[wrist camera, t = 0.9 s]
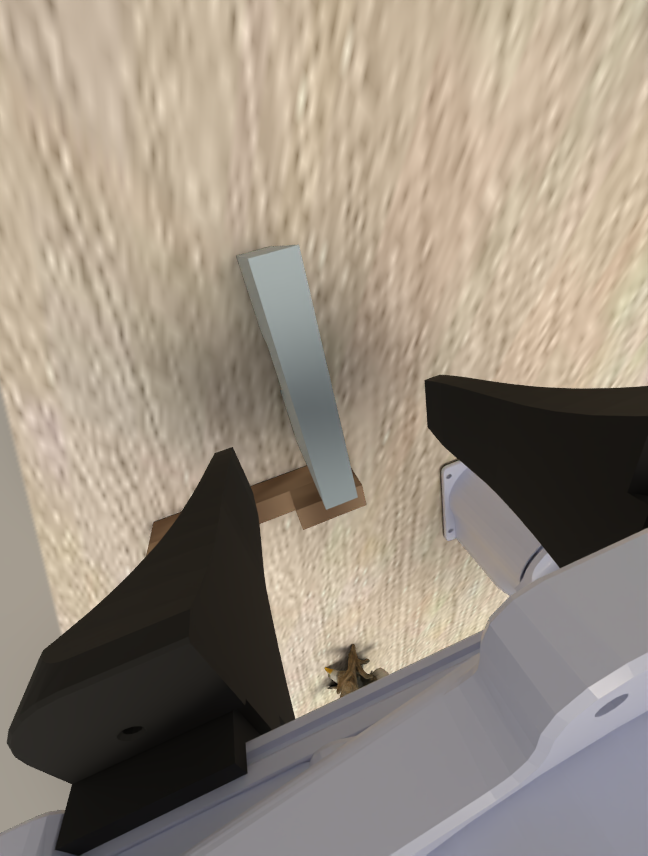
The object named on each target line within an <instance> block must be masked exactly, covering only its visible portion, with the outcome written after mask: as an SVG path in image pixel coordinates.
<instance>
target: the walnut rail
mask: <svg viewBox="0 0 648 856" xmlns="http://www.w3.org/2000/svg"><path fill="white" fill-rule="evenodd" d="M351 470H352V468H351ZM352 474H353V479H354V483H355V487H356V491H357V496H358V498H355V499H352V500H350V501H347V502H345V503H342V504H340V505H337V506H335V507H332V508H329V509H327V510H326V508H325V506H324V504H323V501H322V499H321V497H320V494H319V492H318V490H317V487H316V485H315V483H314V480H313V478H312V476H311V473H310V471H309V469H308V466H305V467H302V468H299V469H297V470H294V471H291V472H289V473H286V474H283V475H280V476H278V477H275V478H272V479H270V480H267V481H264V482H262V483H259V484H256V485H253V486H251V489H252V491H253V494H254V499H255V503H256V507H257V512H258V516H259V524H261V523H263V522H266V521H268V520H271V519H274V518H276V517H279V516H281V515H284V514H287V513H289V512H292V511H294V510H296V512H297V515H298V517H299V520H300V523H301V525H302V528H303V530H304V529H307V528H309V527H312V526H314V525H317V524H319V523H322V522H324V521H327V520H329V519H332V518H334V517H337V516H339V515H342V514H344V513H347V512H349V511H352V510H355V509H357V508H360V507H362V506H365V505H366V501H365V496H364V492H363V487H362V484H361V483H360V481H359V479H358V478H357V476H356V475H355V473H354V472H353V470H352ZM179 515H180V513H178V514H175V515H172V516H170V517H167V518H164V519H162V520H159V521H156V522H154V523H153V528H152V532H151V537H150V541H149V546H148V550H147V555H148V554H149V553H150V551H151V550H152V549H153V548H154V547H155V546H156V545H157V544H158V542H159V541H160V540H161V539H162V537H163V536H164V535H165V534H166V532H167V531H168V530H169V529H170V527H171V526H172V525H173V523H174V522H175V520H176V519H177V518H178V516H179ZM147 555H146V556H147Z"/></svg>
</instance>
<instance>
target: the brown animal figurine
mask: <svg viewBox="0 0 648 856" xmlns="http://www.w3.org/2000/svg"><path fill="white" fill-rule="evenodd" d="M348 656H349V657H348V669H347V670H346V671H337V670H334V669H329V668H327V667H325V670H326V671H327V673H328V676H329V678H331V679H332V680H333V681H335V682H336V683H338V685H337V686H333V687H329V688H328V689H337V694H339V693H340V692H341V695H340V698H341V697H343V696H345V695H347V694H349V693H352V692H354V691H356V690H358V689H360V688H362V687H364V686H366V685H368V684H370V683H373V682H375V681H377V680H379V679H381V678H383V677H385V676H387V675H389V674H388V672H386V671H385V670H384V669H382V668H378V669H376V670H375V671H374V672H373V671H371V673H370V674H367V673H366V672H365V671H364V670H363V668H362V666H361V665H362V664H367V663H368V662H369V661H370V660H369V659H365V660H360V659H358V656H357V654H356V649H355V645H354V644H352V647H351V649H350V652H349V654H348ZM372 672H373V673H372Z"/></svg>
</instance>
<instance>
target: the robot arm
mask: <svg viewBox="0 0 648 856" xmlns="http://www.w3.org/2000/svg"><path fill="white" fill-rule="evenodd" d="M425 394H426V409H427V424H428V428H429V429H430V430H431V432H432V433H433V434H434V435H435V437H436V438H437V439H438V440H439V441H440V443H441V444H442V445H443V446H444V447H445V448H446V449H447V450H449V451H450V452H451V453H452V454H453V455H454V456H455V457H456V458H457V459H459V461H456V462H454V463H451V464H448V465H446V466H444V467H443V468H442V471H441V477H442V498H443V519H444V537H445V539H446V540H447V541H451V540H453V539H457V540H458V541H459V542H460V543H461V544H462V546H463V547H464V548H465V549H466V550H467V552H468V553H469V554H470V555H471V556H472V558H473V559H474V560H475V561H476V562H477V563H478V565H479V566H480V567H481V568H482V569H483V571H484V572H485V573H486V574H487V575H488V577H489V578H490V579H491V580H492V581H493V583H494V584H495V585H496V586H497V587H498V588H499V589H501V590H502V591H503V592H505V593H506V594H508V595H510V597H509V598H508V599H507V600H506V601H505V602H504V603H503V604H502V605H501V606H500V607H499V608H498V609H497V610H496V611H495V612H494V613H493V614H492V615H491V616H490V617H489V620H488V622H487V624H486V627H485V629H484V630H482V631H480V632H478V633H476V634H474V635H472V636H469V637H467V638H465V639H463V640H461V641H459V642H457V643H455V644H453V645H450V646H448V647H446V648H444V649H442V650H440V651H438V652H436V653H434V654H432V655H429V656H427V657H425V658H423V659H421V660H419V661H417V662H415V663H413V664H410V665H408V666H406V667H404V668H402V669H400V670H398V671H396V672H394V673H392V674H389V675H387V676H385V677H383V678H381V679H379V680H377V681H375V682H373V683H370V684H368V685H366V686H364V687H362V688H360V689H358V690H356V691H354V692H352V693H349V694H347V695H345V696H343V697H341V698H339V699H337V700H335V701H333V702H330V703H328V704H326V705H324V706H322V707H320V708H318V709H316V710H314V711H312V712H309V713H307V714H305V715H303V716H301V717H299V718H297V719H295V716H294V712H293V708H292V704H291V700H290V695H289V691H288V687H287V683H286V678H285V674H284V670H283V665H282V661H281V656H280V652H279V648H278V643H277V638H276V634H275V629H274V624H273V620H272V615H271V610H270V605H269V600H268V595H267V590H266V584H265V577H264V568H263V557H262V546H261V536H260V526H259V516H258V512H257V507H256V503H255V499H254V494H253V491H252V489H251V487H250V484H249V482H248V480H247V478H246V476H245V473H244V471H243V469H242V467H241V465H240V462H239V460H238V458H237V456H236V454H235V451H234V449H233V447H231V448H229V449H226V450H223V451H220V452H217V453H215V454H214V456H213V458H212V459H211V461H210V463H209V465H208V467H207V469H206V471H205V473H204V475H203V477H202V478H201V480H200V482H199V484H198V486H197V487H196V489H195V491H194V493H193V494H192V496H191V498H190V499H189V501H188V502H187V504H186V505H185V507H184V509H183V510H182V512H181V513H180V515H179V516H178V518H177V519H176V520H175V522H174V523H173V525H172V526H171V527H170V529H169V530H168V531H167V532H166V534H165V535H164V536H163V537H162V539H161V540H160V541H159V542H158V544H157V545H156V546H155V547H154V548H153V549H152V550H151V551H150V553H149V554H148V555H147V556H146V557H145V558H144V559H143V560H142V561H141V563H140V564H139V565H138V566H137V567H136V568H135V569H134V570H133V571H132V572H131V573H130V574H129V575H128V576H127V577H126V578H125V579H124V580H123V581H122V582H121V583H120V584H119V585H118V586H117V587H116V588H115V589H114V590H113V591H112V592H111V593H110V594H109V595H108V596H107V597H105V598H104V599H103V600H102V601H101V602H100V603H99V604H98V605H97V606H96V607H94V608H93V609H92V610H91V611H90V612H89V613H88V614H86V615H85V616H84V617H83V618H82V619H81V620H79V621H78V622H77V623H76V624H75V625H73V626H72V627H71V628H70V629H69V630H67V631H66V632H65V633H64V634H63V635H61V636H60V637H59V638H58V639H57V640H56V641H54V642H53V643H52V644H51V645H49V646H48V647H47V648H45V649H44V650H43V652H42V654H41V656H40V658H39V660H38V663H37V665H36V668H35V670H34V672H33V674H32V677H31V679H30V682H29V684H28V686H27V689H26V691H25V693H24V695H23V698H22V700H21V702H20V705H19V707H18V709H17V712H16V714H15V716H14V719H13V721H12V724H11V726H10V728H9V731H8V739H7V744H8V746H9V748H10V749H11V751H12V753H13V755H14V756H15V757H16V758H18V759H19V760H21V761H22V762H24V763H25V764H27V765H29V766H31V767H34V768H36V769H38V770H40V771H43V772H45V773H47V774H49V775H52V776H54V777H56V778H59V779H61V780H64V781H66V782H68V783H70V784H72V787H71V791H70V794H69V798H68V802H67V806H66V810H57V811H50V812H47V813H44V814H41V815H38V816H36V817H34V818H32V819H29V820H27V821H25V822H23V823H21V824H19V825H16V826H14V827H12V828H10V829H8V830H6V831H4V832H1V833H0V856H648V386H641V387H626V388H594V389H571V388H548V387H534V386H524V385H515V384H507V383H499V382H492V381H486V380H479V379H472V378H466V377H459V376H450V375H438V376H435V377H432V378H429V379H427V380H425Z"/></svg>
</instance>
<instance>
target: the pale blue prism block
mask: <svg viewBox="0 0 648 856" xmlns="http://www.w3.org/2000/svg"><path fill="white" fill-rule="evenodd" d="M236 257H237V260H238V263H239V266H240V269H241V272H242V275H243V278H244V281H245V284H246V287H247V290H248V294H249V297H250V300H251V303H252V306H253V309H254V312H255V315H256V318H257V321H258V324H259V327H260V330H261V333H262V336H263V338H264V339H265V341H266V343H267V346H268V349H269V352H270V355H271V358H272V361H273V364H274V367H275V370H276V373H277V377H278V380H279V383H280V386H281V389H282V390H280V391H281V394H282V397H283V400H284V403H285V407H286V410H287V413H288V416H289V419H290V422H291V425H292V428H293V431H294V434H295V437H296V440H297V443H298V446H299V448H300V450H301V453H302V455H303V457H304V459H305V462H306V464H307V466H308V469H309V471H310V473H311V476H312V478H313V480H314V483H315V485H316V487H317V490H318V492H319V494H320V497H321V499H322V501H323V504H324V506H325V508H326V510H327V509H329V508H332V507H335V506H337V505H340V504H342V503H345V502H347V501H350V500H352V499H355V498H358V496H357V491H356V487H355V483H354V479H353V474H352V470H351V466H350V462H349V457H348V453H347V449H346V444H345V440H344V436H343V432H342V427H341V423H340V419H339V414H338V410H337V406H336V402H335V397H334V393H333V389H332V384H331V380H330V376H329V372H328V367H327V363H326V359H325V354H324V350H323V346H322V342H321V337H320V333H319V329H318V325H317V320H316V316H315V312H314V307H313V303H312V299H311V295H310V290H309V286H308V282H307V277H306V273H305V269H304V265H303V260H302V256H301V252H300V247H299V245H287V246H272V247H266V248H263V249H259V250H255V251H252V252H248V253H244V254H241V255H237V256H236Z"/></svg>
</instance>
